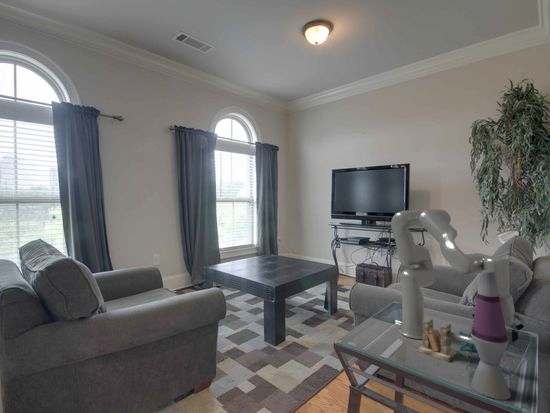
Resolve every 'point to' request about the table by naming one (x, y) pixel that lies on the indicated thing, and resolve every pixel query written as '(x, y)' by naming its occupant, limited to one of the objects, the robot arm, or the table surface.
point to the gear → (466, 343)
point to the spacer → (435, 340)
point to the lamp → (489, 339)
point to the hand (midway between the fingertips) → (497, 336)
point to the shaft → (460, 337)
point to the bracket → (446, 350)
